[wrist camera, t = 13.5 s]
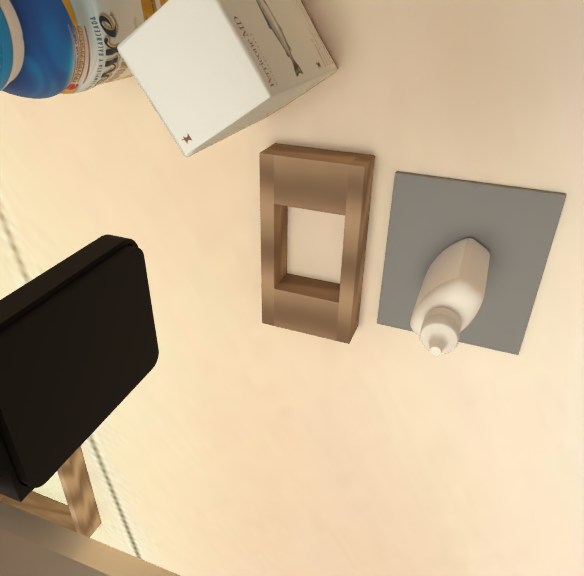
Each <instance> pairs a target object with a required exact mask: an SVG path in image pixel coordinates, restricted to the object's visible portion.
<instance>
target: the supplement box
mask: <svg viewBox="0 0 584 576" xmlns="http://www.w3.org/2000/svg"><path fill="white" fill-rule="evenodd" d="M117 49H118V52H119V54H120V55H121V57H122V58H123V60H124V62H125V63H126V65H127V66H128V68H129V69H130V71H131V72H132V74H133V76H134V77H135V79H136V80H137V82H138V84H139V85H140V87H141V88H142V90H143V91H144V93H145V94H146V96H147V98H148V99H149V101H150V102H151V104H152V106H153V108H154V109H155V111H156V112H157V113H158V115H159V117H160V118H161V120H162V121H163V123H164V124H165V126H166V127H167V129H168V131H169V132H170V134H171V135H172V137H173V139H174V140H175V142H176V143H177V145H178V146H179V148H180V150H181V151H182V153H183V155H184V156H185V157H189V156H191V155H193V154H195V153H197V152H199V151H201V150H203V149H205V148H207V147H208V146H210V145H212V144H214V143H216V142H218V141H220V140H222V139H224V138H226V137H228V136H230V135H232V134H234V133H236V132H238V131H240V130H242V129H244V128H246V127H248V126H250V125H252V124H254V123H256V122H258V121H260V120H262V119H264V118H266V117H267V116H269V115H271V114H272V113H274V112H275V111H277V110H279V109H280V108H282V107H283V106H285V105H286V104H288V103H290V102H291V101H293V100H294V99H296V98H297V97H299V96H300V95H302V94H303V93H305V92H306V91H308V90H309V89H311V88H312V87H314V86H315V85H317V84H318V83H320V82H321V81H323V80H324V79H326V78H327V77H329V76H330V75H332V74H333V73H334V72H336V71H337V66H336V65H335V63H334V61H333V60H332V58H331V56H330V54H329V53H328V51H327V49H326V48H325V46H324V44H323V42H322V40H321V38H320V37H319V35H318V33H317V31H316V29H315V27H314V25H313V23H312V21H311V20H310V18H309V16H308V14H307V12H306V10H305V8H304V6H303V4H302V2H301V0H168V1H167V2H166V3H165V4H164V5H163V6H161V7H160V8H159V9H158V10H157V11H156V12H155V13H154V14H153V15H151V16H150V17H149V18H148V19H147V20H146V21H145V22H144V23H142V24H141V25H140V26H139V27H138V28H137V29H136V30H135V31H133V32H132V33H131V34H130V35H129V36H128V37H127V38H126V39H124V40H123V41H122V42H121V43H120V44H119V45H118V46H117Z"/></svg>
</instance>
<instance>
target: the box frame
mask: <svg viewBox="0 0 584 576" xmlns="http://www.w3.org/2000/svg"><path fill="white" fill-rule="evenodd" d="M57 471H58V475H59V478H60V481H61V484H62V487H63V490H64V494H65V497H66V500H67V503H68V506H67V505H65V504H62V503H60V502H57V501H55V500H52V499H50V498H47V497H45V496H42V495H40V494H38V493H35V492H33V491H31V492H30V493H29V494H28V495H27V496H26V497H25V499H24V500H23V501H22V502H19V501H16V500H14V499H12V498H9V497H7V496H4V495H2V494H0V501H1V502H4V503H6V504H9V505H11V506H14V507H16V508H18V509H21V510H23V511H26V512H28V513H31V514H33V515H35V516H38V517H40V518H43V519H45V520H48V521H50V522H52V523H55V524H57V525H60V526H62V527H65V528H67V529H69V530H72V531H74V532H77V533H79V534H82V535H84V536H86V537H89V538H90V536H91V535H92V534H93V533H94V531H95V530H96V529H97V528H98V526H99V525H100V524H101V520H100V517H99V513H98V509H97V506H96V502H95V498H94V495H93V491H92V487H91V484H90V480H89V476H88V473H87V469H86V465H85V462H84V458H83V454H82V451H81V447H79V448H78V449H77V450H76V451H75V452H74V453H73V454H72V455H71V456H70V457H69V458H68V460H67V461H66V462H65V463H64V464H63V465H62V466H61V467H60V468H59V469H58V470H57Z"/></svg>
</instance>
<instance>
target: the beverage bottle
mask: <svg viewBox="0 0 584 576" xmlns="http://www.w3.org/2000/svg"><path fill="white" fill-rule="evenodd" d="M167 1H168V0H0V91H1V90H2V91H4V92H7V93H10V94H13V95H17V96H21V97H27V98H37V99H40V98H49V97H52V96H55V95H57V94H59V93H63V94H70V93H78V92H82V91H86V90H88V89H91V88H93V87H94V86H96V85H99V84H103V83H107V82H111V81H115V80H119V79H123V78H127V77H131V76H133V74H132V72H131V71H130V69H129V68H128V66H127V65H126V63H125V62H124V60H123V58H122V57H121V55H120V54H119V52H118V49H117V46H118V45H119V44H120V43H121V42H122V41H123V40H124V39H126V38H127V37H128V36H129V35H130V34H131V33H132V32H133V31H135V30H136V29H137V28H138V27H139V26H140V25H141V24H142V23H144V22H145V21H146V20H147V19H148V18H149V17H150V16H151V15H153V14H154V13H155V12H156V11H157V10H158V9H159V8H160V7H161V6H163V5H164V4H165V3H166V2H167Z"/></svg>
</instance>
